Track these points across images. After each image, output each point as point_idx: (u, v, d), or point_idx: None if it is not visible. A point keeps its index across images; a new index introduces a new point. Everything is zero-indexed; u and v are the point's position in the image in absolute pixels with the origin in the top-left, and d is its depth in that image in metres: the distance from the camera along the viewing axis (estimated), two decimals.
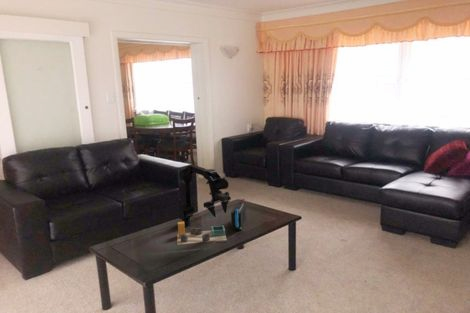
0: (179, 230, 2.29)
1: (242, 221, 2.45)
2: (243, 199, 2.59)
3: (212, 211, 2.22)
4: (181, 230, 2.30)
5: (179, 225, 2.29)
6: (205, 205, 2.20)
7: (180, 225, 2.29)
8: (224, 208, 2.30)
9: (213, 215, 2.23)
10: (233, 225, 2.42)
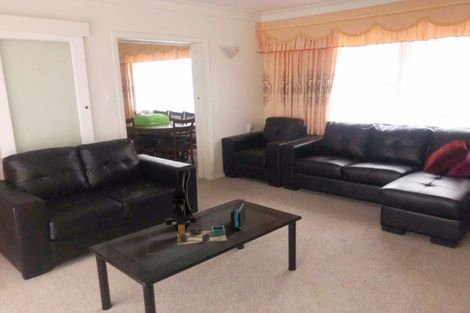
0: (179, 230, 2.29)
1: (242, 221, 2.45)
2: (243, 199, 2.59)
3: (176, 228, 2.31)
4: (181, 230, 2.30)
5: (179, 225, 2.29)
6: None
7: (180, 225, 2.29)
8: (185, 228, 2.32)
9: (177, 231, 2.32)
10: (232, 225, 2.42)
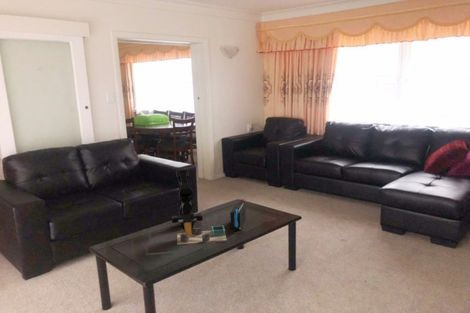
0: (185, 228, 2.27)
1: (241, 221, 2.45)
2: (243, 199, 2.59)
3: (182, 226, 2.28)
4: (187, 228, 2.27)
5: (185, 223, 2.26)
6: None
7: (186, 223, 2.26)
8: (191, 226, 2.29)
9: (183, 229, 2.29)
10: (232, 225, 2.42)
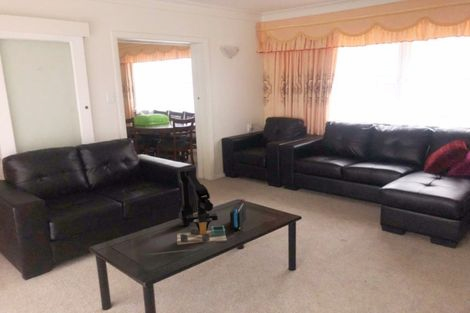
0: (200, 228, 2.26)
1: (241, 221, 2.45)
2: (243, 199, 2.59)
3: (197, 226, 2.28)
4: (202, 228, 2.27)
5: (200, 223, 2.26)
6: None
7: (201, 223, 2.26)
8: (206, 226, 2.29)
9: None
10: (232, 225, 2.42)
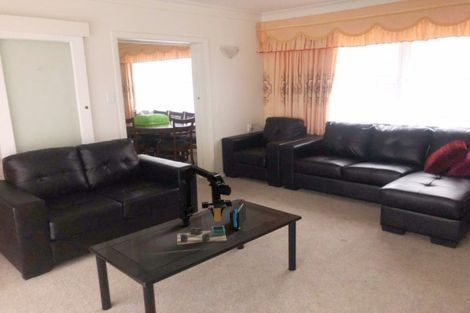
0: (215, 214, 2.30)
1: (241, 221, 2.46)
2: (243, 199, 2.59)
3: None
4: (217, 214, 2.30)
5: (215, 209, 2.29)
6: None
7: (216, 209, 2.29)
8: None
9: (213, 215, 2.32)
10: (231, 225, 2.42)
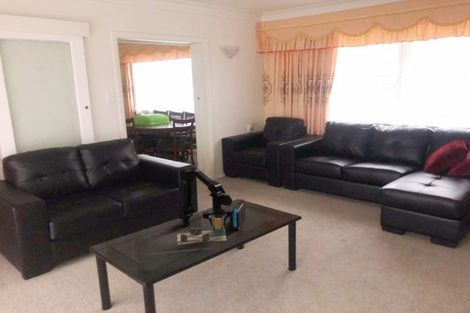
0: (216, 226, 2.31)
1: (240, 221, 2.46)
2: (243, 199, 2.59)
3: (210, 222, 2.32)
4: (218, 226, 2.32)
5: (216, 221, 2.31)
6: (202, 215, 2.32)
7: (217, 221, 2.31)
8: (223, 222, 2.34)
9: (211, 225, 2.33)
10: (231, 225, 2.42)
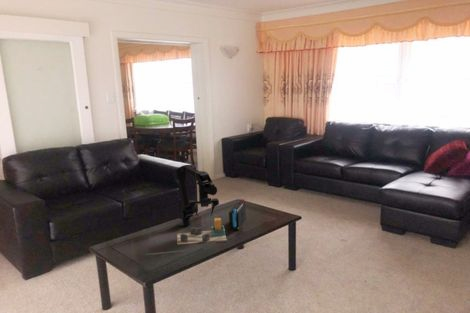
0: (216, 226, 2.31)
1: (240, 221, 2.46)
2: (243, 199, 2.59)
3: (195, 210, 2.34)
4: (218, 226, 2.32)
5: (216, 221, 2.31)
6: None
7: (217, 221, 2.31)
8: (211, 210, 2.36)
9: (196, 214, 2.35)
10: (231, 225, 2.42)
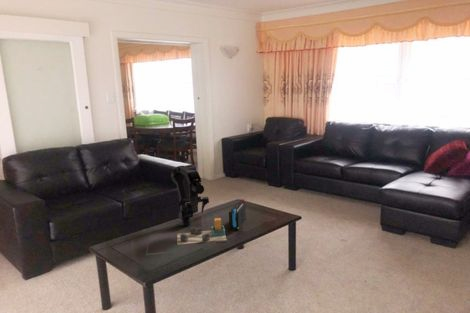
0: (216, 226, 2.31)
1: (240, 221, 2.46)
2: (243, 199, 2.59)
3: None
4: (218, 226, 2.32)
5: (216, 221, 2.31)
6: None
7: (217, 221, 2.31)
8: None
9: (186, 212, 2.37)
10: (231, 225, 2.42)
